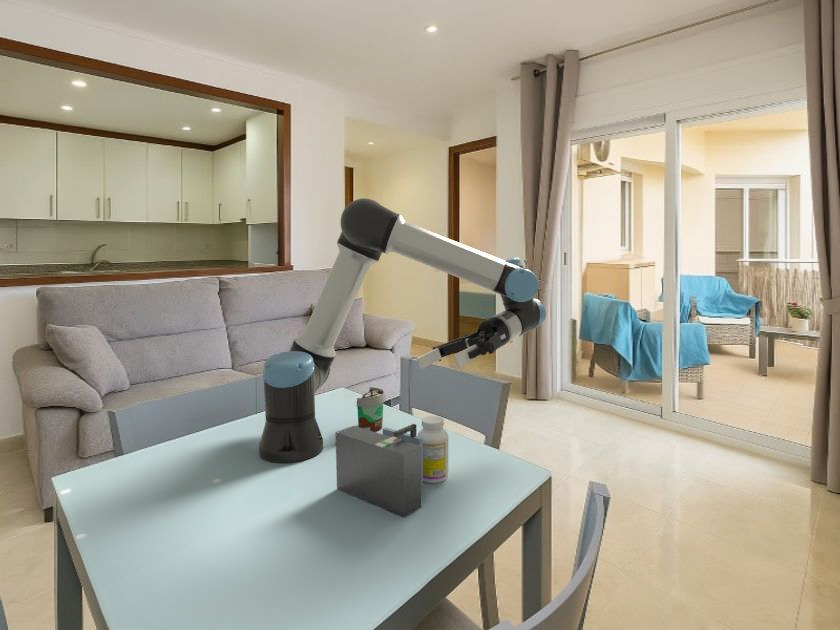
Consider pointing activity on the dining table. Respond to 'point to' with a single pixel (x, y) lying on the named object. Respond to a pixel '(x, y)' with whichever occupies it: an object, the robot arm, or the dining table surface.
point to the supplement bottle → (434, 449)
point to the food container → (371, 409)
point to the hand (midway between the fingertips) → (436, 362)
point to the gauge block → (379, 469)
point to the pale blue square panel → (407, 439)
